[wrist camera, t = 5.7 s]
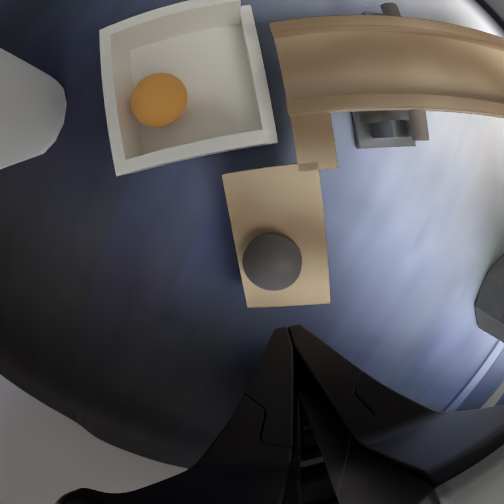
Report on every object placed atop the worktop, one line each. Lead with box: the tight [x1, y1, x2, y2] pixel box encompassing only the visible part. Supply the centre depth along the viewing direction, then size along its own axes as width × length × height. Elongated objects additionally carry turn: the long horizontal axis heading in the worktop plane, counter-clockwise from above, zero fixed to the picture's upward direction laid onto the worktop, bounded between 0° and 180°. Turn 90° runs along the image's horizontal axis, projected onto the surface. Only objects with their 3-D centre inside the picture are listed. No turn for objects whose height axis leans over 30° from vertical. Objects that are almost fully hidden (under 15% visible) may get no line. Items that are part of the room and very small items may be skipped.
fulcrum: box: [352, 12, 416, 149], centre depth 13 cm, size 9×4×3 cm, turn 10°
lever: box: [222, 3, 504, 308], centre depth 12 cm, size 17×24×4 cm
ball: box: [131, 73, 188, 127], centre depth 13 cm, size 3×3×3 cm
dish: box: [99, 0, 278, 176], centre depth 13 cm, size 9×9×4 cm
